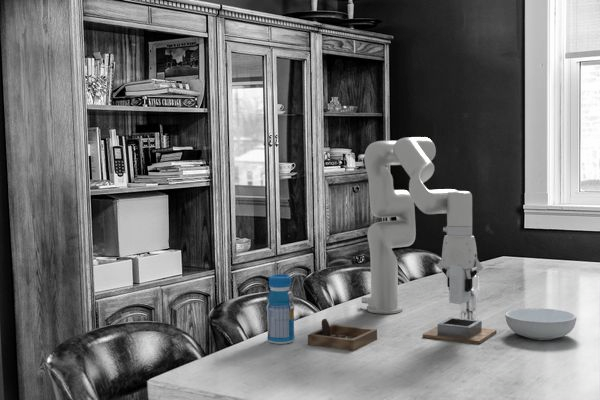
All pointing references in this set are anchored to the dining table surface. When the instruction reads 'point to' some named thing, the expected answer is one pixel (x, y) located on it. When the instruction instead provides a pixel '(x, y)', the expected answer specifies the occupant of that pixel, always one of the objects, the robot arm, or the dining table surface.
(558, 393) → the dining table surface
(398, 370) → the dining table surface
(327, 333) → the compass
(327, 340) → the square wooden tray
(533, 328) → the serving bowl
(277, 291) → the beverage bottle
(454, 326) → the board with square socket
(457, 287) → the skincare box
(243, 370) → the dining table surface
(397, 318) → the dining table surface
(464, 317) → the beer glass
